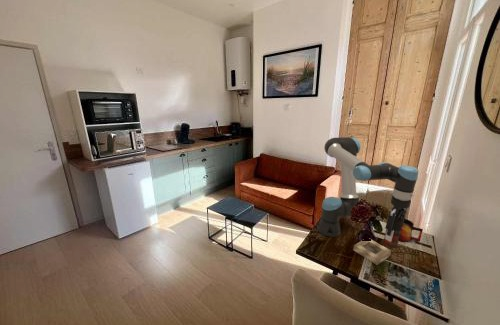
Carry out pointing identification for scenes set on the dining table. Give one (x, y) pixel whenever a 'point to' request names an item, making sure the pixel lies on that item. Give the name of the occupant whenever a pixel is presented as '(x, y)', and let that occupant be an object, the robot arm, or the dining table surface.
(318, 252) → the dining table surface
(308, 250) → the dining table surface
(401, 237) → the mug
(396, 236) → the deodorant
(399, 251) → the dining table surface
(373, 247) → the socket block
